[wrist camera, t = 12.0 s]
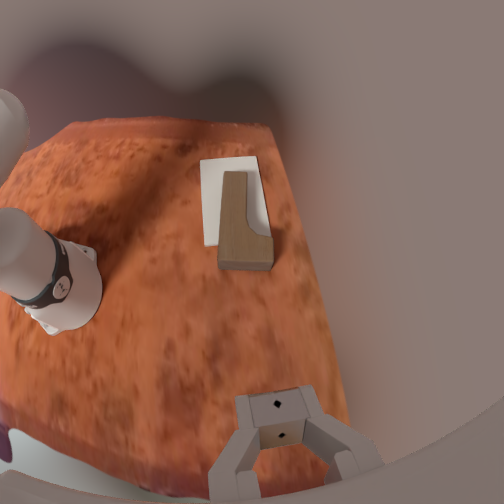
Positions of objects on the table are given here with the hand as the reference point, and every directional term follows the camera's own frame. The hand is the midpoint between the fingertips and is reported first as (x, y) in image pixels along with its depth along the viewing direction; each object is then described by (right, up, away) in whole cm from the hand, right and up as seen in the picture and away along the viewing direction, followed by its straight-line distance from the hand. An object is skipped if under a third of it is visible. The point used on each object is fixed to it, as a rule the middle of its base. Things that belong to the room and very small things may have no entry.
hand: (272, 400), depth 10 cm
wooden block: (-2, +3, +37) cm, 37 cm away
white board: (-5, +16, +46) cm, 49 cm away
